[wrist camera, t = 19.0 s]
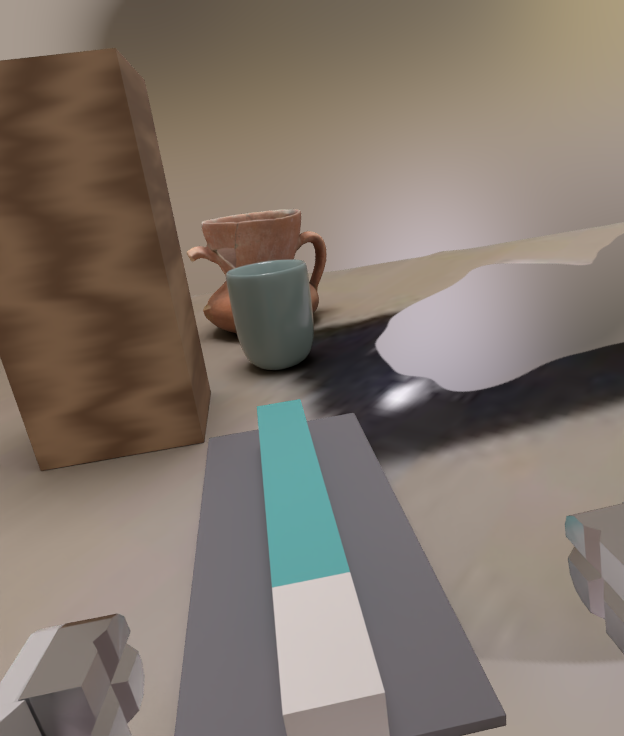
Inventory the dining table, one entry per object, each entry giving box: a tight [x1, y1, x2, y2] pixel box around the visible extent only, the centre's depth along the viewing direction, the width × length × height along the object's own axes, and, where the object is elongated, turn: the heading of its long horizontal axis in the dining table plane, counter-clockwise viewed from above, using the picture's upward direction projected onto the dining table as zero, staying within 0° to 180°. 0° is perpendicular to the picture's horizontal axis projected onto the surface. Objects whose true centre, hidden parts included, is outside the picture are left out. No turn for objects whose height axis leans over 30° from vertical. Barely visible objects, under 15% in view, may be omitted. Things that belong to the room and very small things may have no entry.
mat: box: [174, 413, 506, 736], centre depth 28 cm, size 11×24×1 cm, turn 7°
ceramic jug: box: [187, 209, 326, 333], centre depth 66 cm, size 18×14×14 cm
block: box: [257, 399, 390, 736], centre depth 26 cm, size 3×22×3 cm, turn 7°
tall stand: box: [0, 48, 211, 471], centre depth 39 cm, size 12×10×26 cm
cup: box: [226, 260, 314, 370], centre depth 52 cm, size 8×8×10 cm
